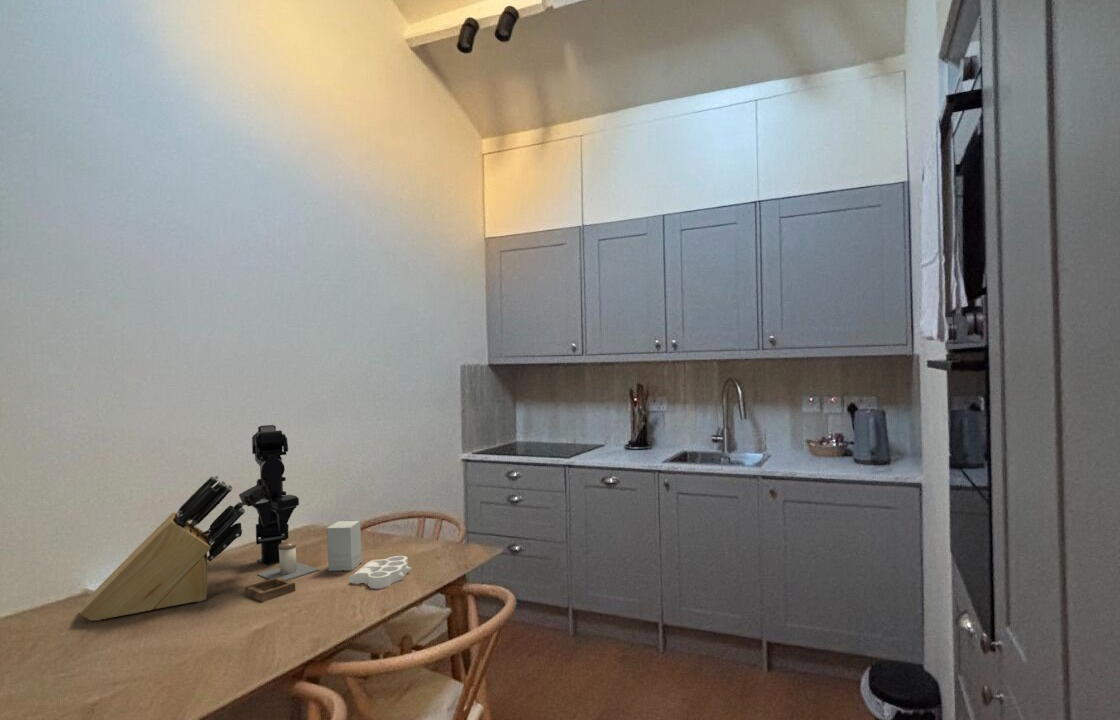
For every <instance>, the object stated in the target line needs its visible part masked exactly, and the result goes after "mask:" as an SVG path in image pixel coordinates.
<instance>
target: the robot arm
mask: <svg viewBox="0 0 1120 720" xmlns="http://www.w3.org/2000/svg"><path fill="white" fill-rule="evenodd" d="M251 448H252V449H251V454H252V455H254V461H255V462H256V464H258V466H259V469H260V470H259V473H260V474H259V475H260V478H258V479H257V480H256V485H253V486H252V487H250V488H248V489H246V490H244V491H243V492H241V493H239V494H238V496H239V499H240V502H241V503H243V506H247V507H252V508H254V509H255V510H256V512H257V514H258V519H257V524H255V544H256V545H260V551H261V558H258V559H257V560H256V563H260V564H261V565H266V566H269V565H272V564H276V563H280V562H279V547H278V545H279V544H281V543H283V542H282V541H287V540H288V539H289V530H290V529H289V527H290V526H289V524H288V522H289V520H290V518H291V516H292V514H293V512H294V510H295V509H297V506H299V505H300V498H299V497H298V496H297V495H294V494H287V491H285V490H284V484H283V483H284V482H286V479H287V477H284V476H283V475H284V473H285V470H286V469H285V464H284V462H283V457H282V456H286V455H287V452H289V445H288V437H287V436H286V434H285V433H283V431H282V430H277V427H276V425H274V424H269V425H266V424H264V425H260V426H258V427H257V431H256V433H255V434H253V436H252V437H251Z"/></svg>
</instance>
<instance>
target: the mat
mask: <svg viewBox="0 0 1120 720" xmlns="http://www.w3.org/2000/svg"><path fill="white" fill-rule="evenodd" d="M296 568H297V571H295V572H293V573H290V574H280V566H279V567H277V568H273V569H269V570H266V571H262V572H259V573H257V574H256V575H257V576H259V577H262V578H264V579H266V580H269V579H273V578H276V577H280V578H282V579H285V580H288V581H291V580H293V579H296V578H300V577H302V576H305V575H309V574H311V573H315V572H318V571H320V569H319V568H316V567H313V566H310V565H307V564H303V563H301V562H298V561H296Z"/></svg>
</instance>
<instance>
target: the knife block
mask: <svg viewBox="0 0 1120 720" xmlns="http://www.w3.org/2000/svg"><path fill="white" fill-rule="evenodd" d="M219 479H220V478H219V476H217V475H216V474H214V475H212V476H211V477H209V478H208V479H207V480H206V481H205V482H204V483H203V484H202V485H201V486H199V488H198V489H196V491H195V492H194V493H193V494H192V495H191V496H190V497H189V498H188V499H187V500H186V501H185V502H184V503H182V506H181V507H180V508H179V509H178V510H177V512H172V513H171V514H170V515H169V516H168V517H167V518H165V520H164V521H162V523H161V524H160V525H159V526H157V527H156V529H155V530H154V531H153V532H152V533H151V534H150V535H149V536H148V537H146V539H145V540H144V541H142V543H140V545H139V546H138V547H137V548H136V549H134V551H133V552H132V553H131V554H130V555H129V556H128V557H127V558H126V559H125V560H124V561H123V562H122V563H120V565H119V566H118V567H117V568H116V569H114V571H113V572H112V573H111V574H110V575H109V576H108V577H107V578H106V579H105V580H104V581H103V582H101V584H100V585H99V586H98V587H97V588H96V589H95V590H94V591H93V592H92V593H91V594H90V595H89V596H88V597H87V599H86V601H85V602H84V604H83V606H82V607H81V609H80V612H79V614H80V615H81V616H83V617H84V618H85V619H87V620H88V621H102V620H101V619H104V620H106V619H111V618H112V619H113V618H116V617H122V616H126V615H132V614H138V613H142V612H148V611H152V610H157V609H161V608H169V607H174V606H179V605H184V604H190V603H195V602H196V603H201V602H203V601H206V600H207V593H208V564H209V562H212V561H213V560H214V559H216V558H217V557H218V556H219V555H220V554H221V553H222V552H224V551H225V550H226V549H227V548H228V547H229V546H230V545H231V544H233V542H234V541H235V540H236V539H238V538H240V537H241V536H242V534H243V529H242V522H237V521H238V520H239V519H240V518H241V517H242V516H243V515H244V514H245V513H246V510H245V508H243V507H244V505H243V503H242V501H239V502H237V503H236V504H235V505H234V506H233V505H231V504H230V505H229V506H227V508H225V509H224V510H223V511H222V512H221V513H220V514H219V515H218V516H217V518H215V520H213V522H211V524H210V526H209V528H208V529H207V530H205V531H203V530H202V529H201V528H199V527H197V525H199V524H200V523H201V522H202V521H203V520H204V519H205V518H206V517H207V516H209V514H210V513H211V512H212V511H213V510H214V509H215V508H216V507H218V506H219V505H220V503H221V502H222V501H223V500H224V499H225V498H226V497H227V495H228V494H230V493H231V492H232V491H233V487H232V485H230V484H227V483H226V481H224V480H220V481H219ZM190 521H191V522H190Z"/></svg>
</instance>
